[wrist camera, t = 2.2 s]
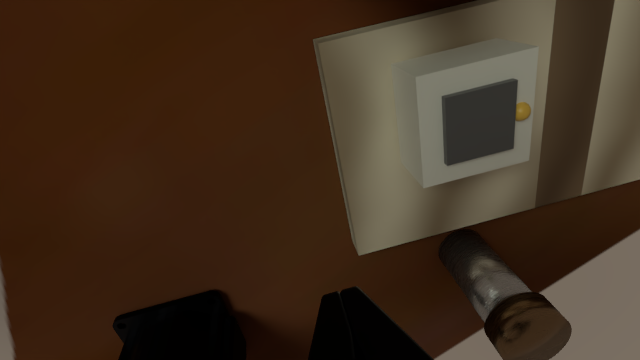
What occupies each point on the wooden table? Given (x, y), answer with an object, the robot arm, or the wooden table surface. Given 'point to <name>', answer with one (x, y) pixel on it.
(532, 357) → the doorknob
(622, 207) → the wooden table surface
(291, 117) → the wooden table surface
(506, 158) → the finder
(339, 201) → the wooden table surface
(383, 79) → the board
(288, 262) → the wooden table surface
